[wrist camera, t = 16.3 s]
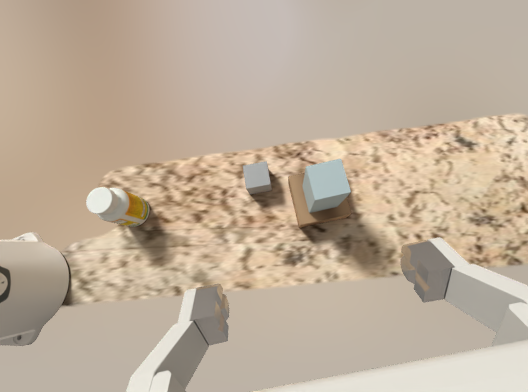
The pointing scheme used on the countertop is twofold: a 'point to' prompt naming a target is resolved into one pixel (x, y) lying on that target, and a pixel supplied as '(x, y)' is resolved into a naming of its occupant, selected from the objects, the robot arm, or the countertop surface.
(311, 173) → the pillar
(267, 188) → the block
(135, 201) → the supplement bottle
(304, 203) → the plinth
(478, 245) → the countertop surface
